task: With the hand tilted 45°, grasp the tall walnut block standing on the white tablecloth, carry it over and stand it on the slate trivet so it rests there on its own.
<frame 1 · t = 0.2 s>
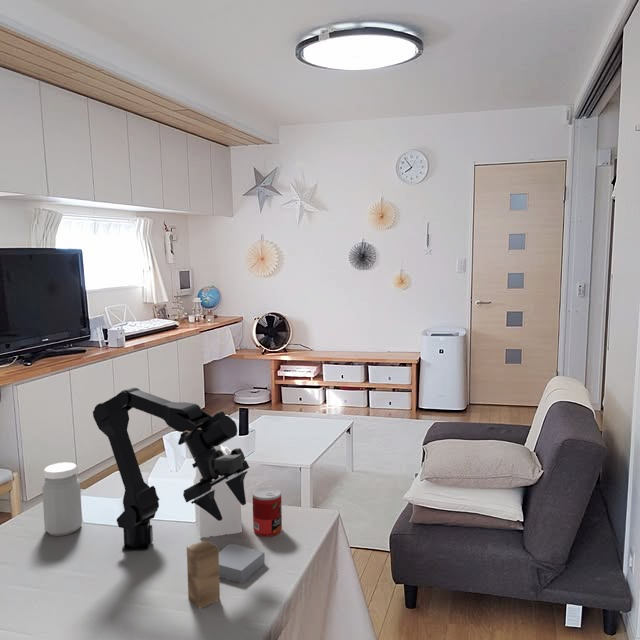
hand: (232, 512, 146), 15 cm above the table, tool tilted 30°, fingers open, 9 cm apart
canned food: (267, 531, 168), on the table
milk: (218, 526, 171), on the table
slate trivet: (236, 568, 148), on the table
walnut block: (204, 599, 135), on the table
jar: (63, 530, 170), on the table
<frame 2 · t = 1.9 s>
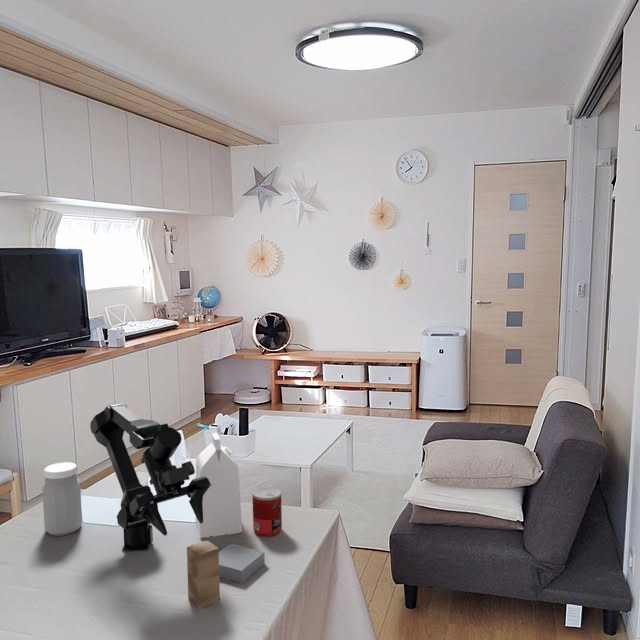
hand: (184, 528, 140), 13 cm above the table, tool tilted 45°, fingers open, 9 cm apart
nothing on the table moved.
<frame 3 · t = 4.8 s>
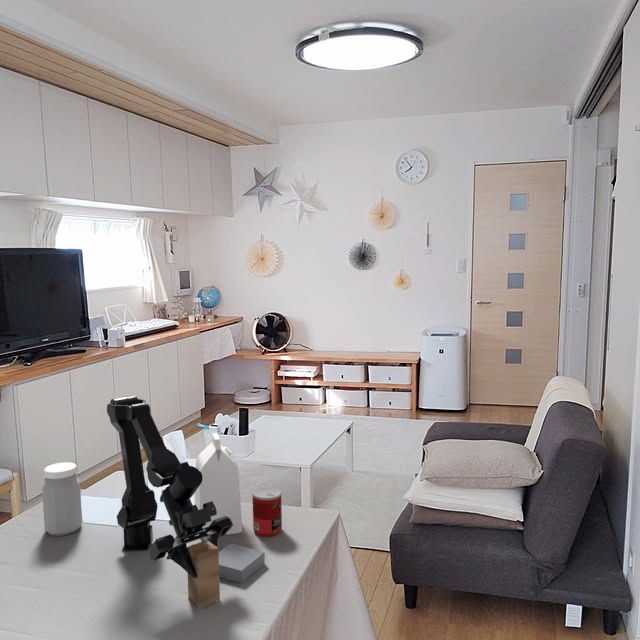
hand: (206, 573, 133), 7 cm above the table, tool tilted 45°, fingers closed on walnut block, 5 cm apart
walnut block: (204, 599, 135), on the table, touching gripper
everything else where it was.
when the fingers open (10 cm above the table, at t = 8.2 s): walnut block stays where it is, resting on slate trivet.
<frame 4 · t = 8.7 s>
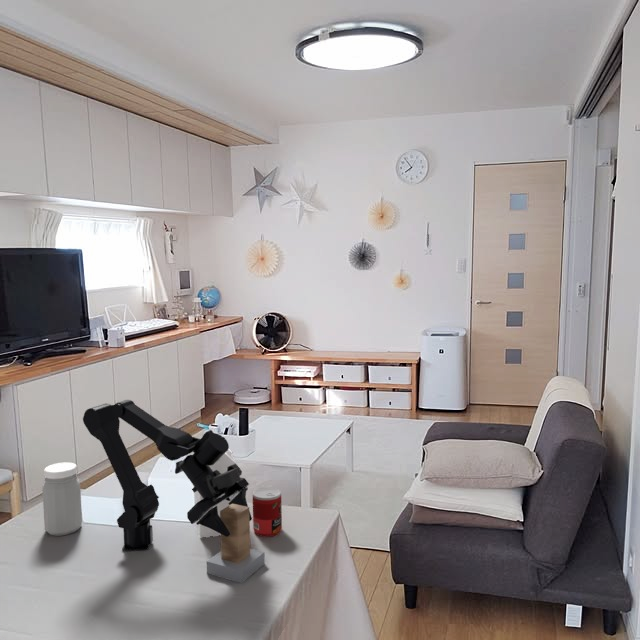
hand: (240, 527, 146), 11 cm above the table, tool tilted 45°, fingers open, 9 cm apart
walnut block: (235, 556, 148), point 3 cm above the table, touching slate trivet
everything else where it was.
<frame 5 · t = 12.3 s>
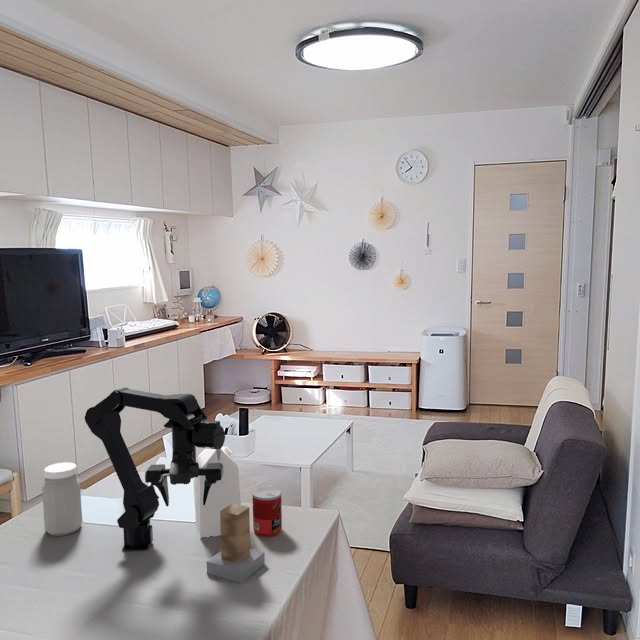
hand: (186, 505, 154), 13 cm above the table, tool pointing down, fingers open, 9 cm apart
nothing on the table moved.
at the end: walnut block inside the target area on the slate trivet (0.0 cm from its centre), point 3.0 cm above the slate trivet's base; walnut block tilted 0°; the gripper is holding nothing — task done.
